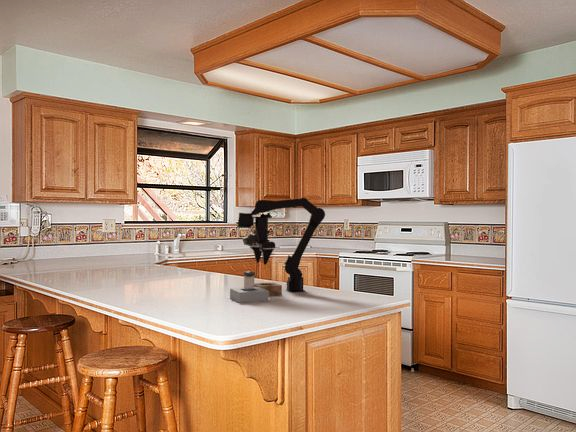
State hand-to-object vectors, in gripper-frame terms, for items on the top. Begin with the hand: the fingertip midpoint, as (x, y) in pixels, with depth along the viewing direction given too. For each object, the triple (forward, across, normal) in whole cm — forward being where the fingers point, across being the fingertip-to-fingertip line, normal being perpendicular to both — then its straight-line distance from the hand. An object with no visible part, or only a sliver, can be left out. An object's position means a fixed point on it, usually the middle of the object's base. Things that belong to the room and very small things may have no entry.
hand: (261, 263), depth 230 cm
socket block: (+12, +21, -13) cm, 27 cm away
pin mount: (+12, +9, -1) cm, 15 cm away
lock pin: (+12, +21, -13) cm, 27 cm away
